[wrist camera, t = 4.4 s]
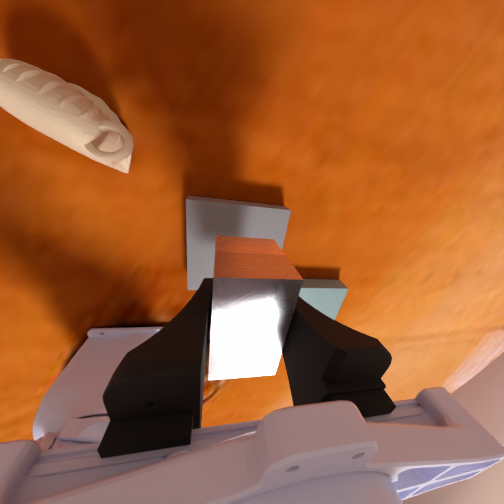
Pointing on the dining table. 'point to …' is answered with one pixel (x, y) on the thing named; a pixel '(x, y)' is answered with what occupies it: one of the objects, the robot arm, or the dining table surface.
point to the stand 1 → (226, 229)
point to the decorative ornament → (65, 113)
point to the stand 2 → (324, 295)
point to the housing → (250, 306)
